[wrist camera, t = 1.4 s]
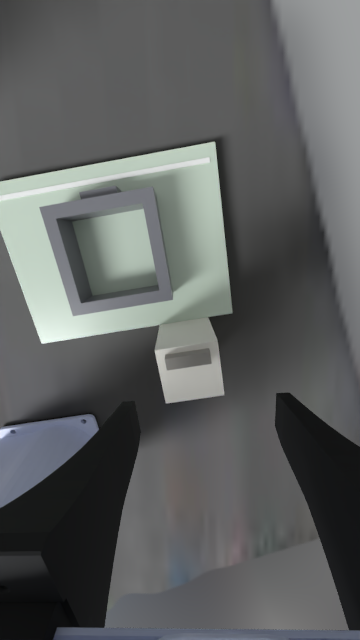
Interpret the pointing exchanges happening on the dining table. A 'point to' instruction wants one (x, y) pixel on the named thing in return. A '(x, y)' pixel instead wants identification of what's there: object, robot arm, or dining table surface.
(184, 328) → the plug
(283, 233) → the dining table surface
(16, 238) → the board
